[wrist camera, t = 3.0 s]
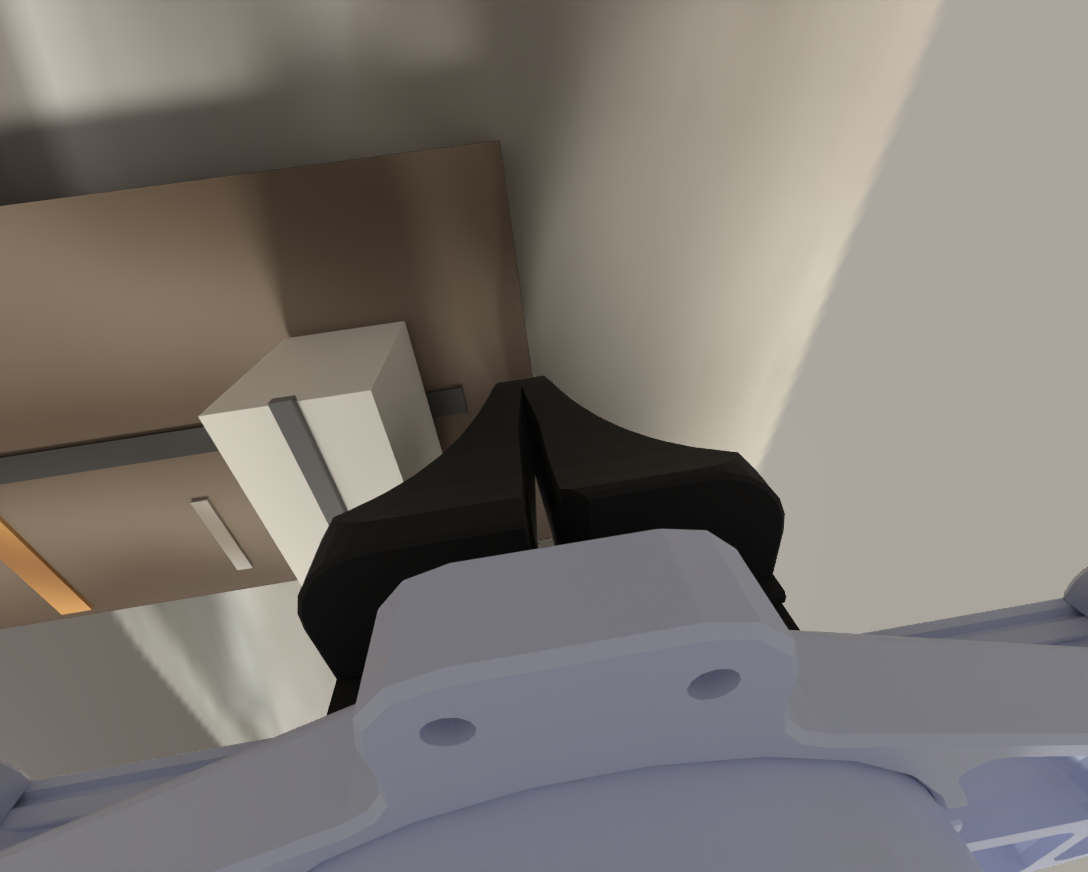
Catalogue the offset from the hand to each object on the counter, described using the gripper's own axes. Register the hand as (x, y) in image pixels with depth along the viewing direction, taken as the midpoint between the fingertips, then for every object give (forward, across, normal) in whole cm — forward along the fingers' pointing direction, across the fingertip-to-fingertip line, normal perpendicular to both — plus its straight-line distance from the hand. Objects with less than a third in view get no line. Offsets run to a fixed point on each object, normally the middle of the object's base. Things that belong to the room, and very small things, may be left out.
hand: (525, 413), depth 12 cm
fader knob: (+1, +4, 0) cm, 4 cm away
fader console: (+3, +10, 0) cm, 11 cm away
